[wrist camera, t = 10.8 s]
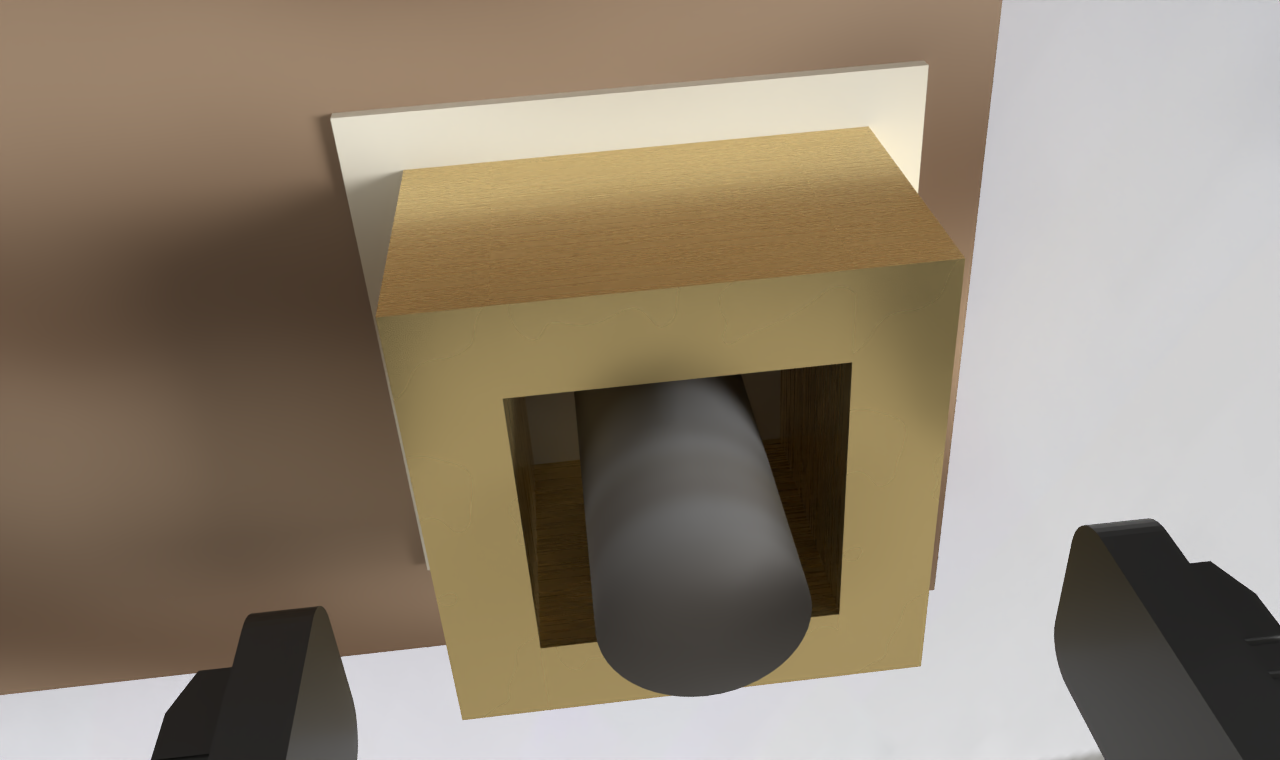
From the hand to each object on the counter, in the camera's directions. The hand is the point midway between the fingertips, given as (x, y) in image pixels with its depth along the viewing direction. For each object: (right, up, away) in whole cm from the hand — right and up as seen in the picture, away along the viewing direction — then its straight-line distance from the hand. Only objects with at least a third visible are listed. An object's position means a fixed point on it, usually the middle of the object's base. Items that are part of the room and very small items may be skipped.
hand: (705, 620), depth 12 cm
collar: (-1, +3, +5) cm, 6 cm away
